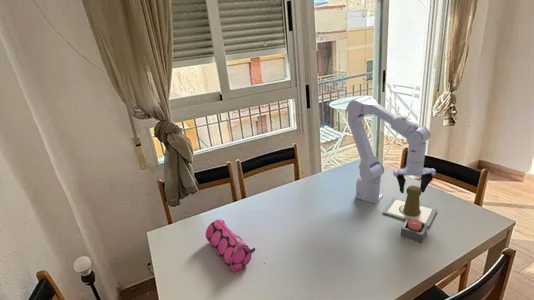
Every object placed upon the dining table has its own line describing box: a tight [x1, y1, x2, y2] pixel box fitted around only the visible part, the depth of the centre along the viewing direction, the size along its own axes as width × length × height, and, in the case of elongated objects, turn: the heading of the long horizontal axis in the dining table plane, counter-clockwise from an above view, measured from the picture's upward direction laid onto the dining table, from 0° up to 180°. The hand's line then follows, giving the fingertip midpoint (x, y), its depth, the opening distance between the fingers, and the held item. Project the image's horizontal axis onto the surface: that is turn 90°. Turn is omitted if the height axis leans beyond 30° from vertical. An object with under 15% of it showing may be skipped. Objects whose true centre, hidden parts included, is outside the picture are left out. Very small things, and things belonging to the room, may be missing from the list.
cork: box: [403, 185, 422, 216], centre depth 119 cm, size 6×6×11 cm
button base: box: [399, 218, 429, 244], centre depth 110 cm, size 7×7×4 cm
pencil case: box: [205, 218, 256, 272], centre depth 107 cm, size 21×10×10 cm, turn 36°
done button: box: [408, 220, 422, 232], centre depth 109 cm, size 4×4×2 cm
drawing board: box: [381, 197, 438, 229], centre depth 122 cm, size 17×13×1 cm
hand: (411, 191), depth 119 cm, fingers open, 7 cm apart
